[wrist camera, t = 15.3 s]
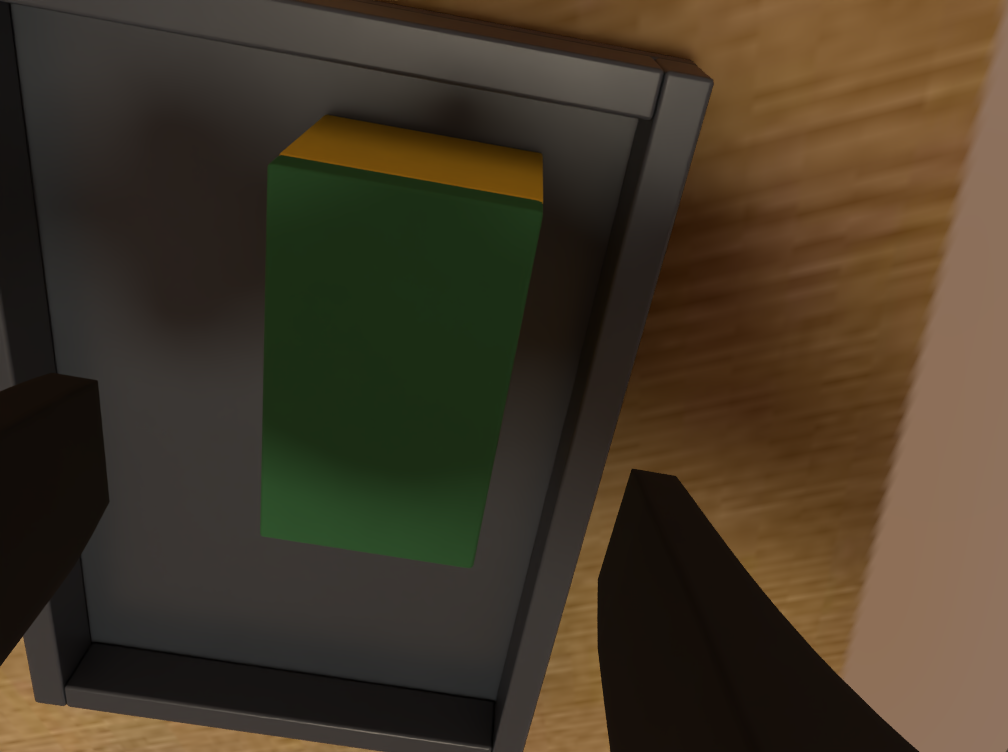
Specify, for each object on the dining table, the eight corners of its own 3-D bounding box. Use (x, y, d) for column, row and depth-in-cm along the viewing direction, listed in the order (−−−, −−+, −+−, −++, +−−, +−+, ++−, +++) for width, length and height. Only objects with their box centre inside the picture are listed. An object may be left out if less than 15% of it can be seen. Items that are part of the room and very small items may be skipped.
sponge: (484, 461, 18) (472, 570, 15) (307, 433, 18) (258, 537, 15) (543, 152, 14) (543, 212, 11) (325, 113, 14) (265, 163, 11)
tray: (693, 60, 14) (715, 79, 12) (519, 704, 23) (518, 772, 21) (-25, -76, 14) (-113, -76, 12) (75, 639, 22) (34, 703, 20)
